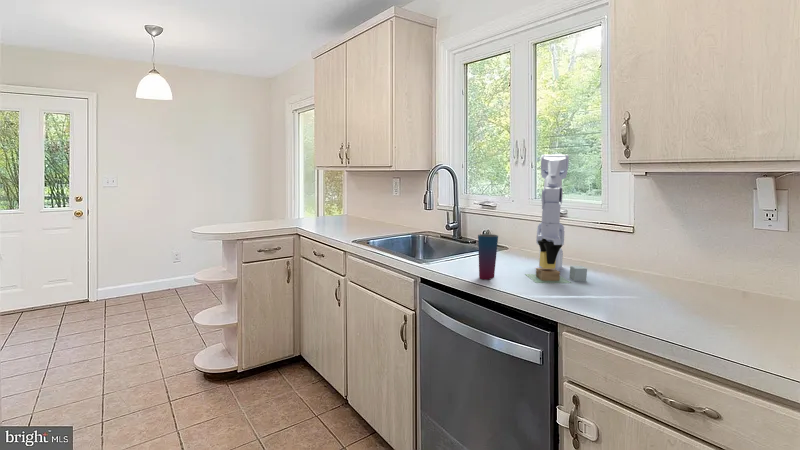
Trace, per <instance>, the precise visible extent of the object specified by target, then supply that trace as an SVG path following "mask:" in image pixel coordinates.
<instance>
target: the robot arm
mask: <svg viewBox="0 0 800 450" xmlns="http://www.w3.org/2000/svg"><path fill="white" fill-rule="evenodd" d="M540 157H541V159H540V175H541V178H542V179H544V181H543V182H544V183H543V188H542V189H541V210H542V211H541V222H540V223H539V224H537V230H536V245H538V246H539V254H538V255H539V256H538V257H539V258H538V266H536V267H534V269H536V268H542V267H541V266H539V265H540V252H546V255H547V263H548V264H554V263H555V260H556V265H555V268H554V269H556V270H558V271H560V270H562V269H565V266H563V260H564V259H563V258H564V253H563V249H562V247H563V246H564V245H565V226H564V224H562V223H561V222H560V220H561V219H560V218H561V208H562V206H561V205H562V203H563V197H564V196H563V193H564V189H563V185H562V184H563V179H566V178H567V175H568V170H569V160H570V159H569V157H570V156H569V154H567V153H566V154H544V153H543V154H542V155H541V156H540Z"/></svg>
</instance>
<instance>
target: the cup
mask: <svg viewBox="0 0 800 450" xmlns="http://www.w3.org/2000/svg"><path fill="white" fill-rule="evenodd" d="M498 240H499V235H498V234H493V233H492V234H491V233H481V234H480V233H479V234H478V235H477V245H478V278H479V279H480V280H486V281H487V280H488V281H490V280H491V279H493V278H495V272H496V261H497V253H498V251H497V250H498V244H499V243H498Z"/></svg>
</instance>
